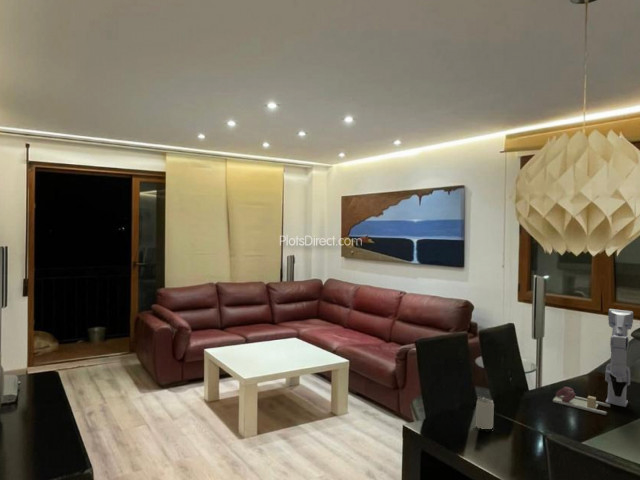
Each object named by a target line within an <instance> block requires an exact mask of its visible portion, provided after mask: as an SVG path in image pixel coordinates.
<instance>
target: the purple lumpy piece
mask: <svg viewBox="0 0 640 480" xmlns="http://www.w3.org/2000/svg"><path fill="white" fill-rule="evenodd" d="M562 395H564V398H563V399H562V401H564V402H569V401H571V400H572V399H574V398H575V396H576V393H575V391H574V389H573V388H571V387H569V386H563V387H562V388H561V389H558V391H556V393H555V396H562Z"/></svg>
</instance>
